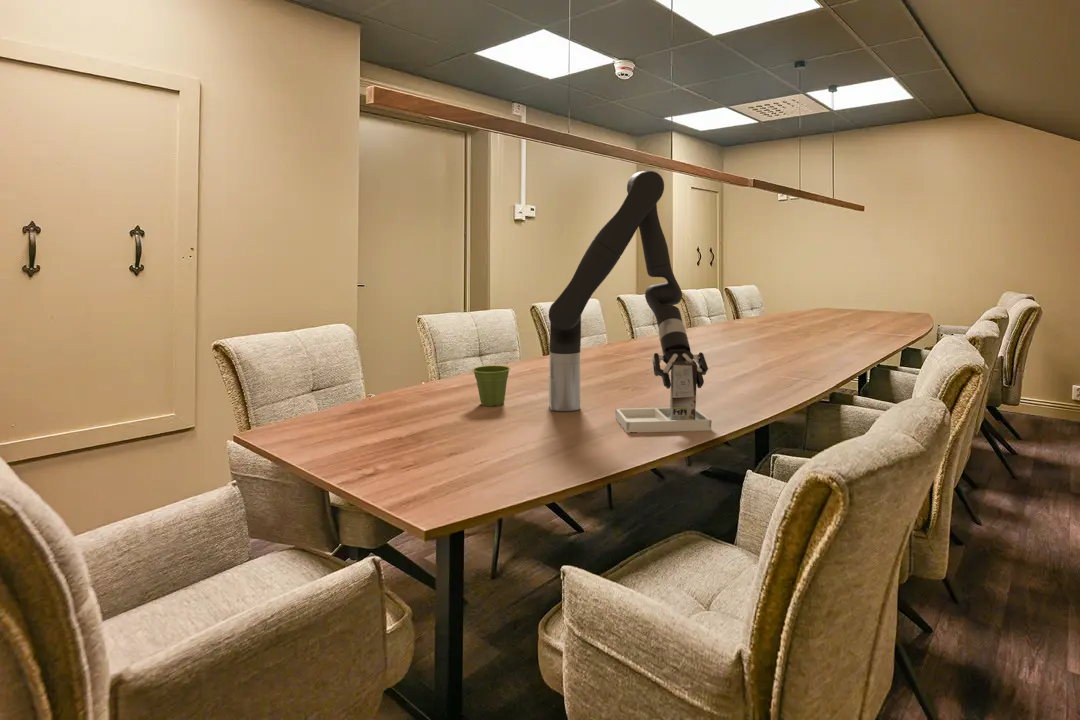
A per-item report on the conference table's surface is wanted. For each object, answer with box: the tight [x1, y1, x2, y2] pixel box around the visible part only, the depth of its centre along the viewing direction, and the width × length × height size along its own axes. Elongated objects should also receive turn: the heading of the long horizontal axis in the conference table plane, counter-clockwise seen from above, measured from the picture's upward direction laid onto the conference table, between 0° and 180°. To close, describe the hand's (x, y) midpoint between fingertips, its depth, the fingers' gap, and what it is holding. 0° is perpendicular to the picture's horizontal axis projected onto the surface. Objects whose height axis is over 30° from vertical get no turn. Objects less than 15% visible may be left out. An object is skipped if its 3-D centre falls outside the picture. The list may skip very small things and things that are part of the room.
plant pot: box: [471, 365, 511, 407], centre depth 191 cm, size 12×12×11 cm
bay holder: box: [615, 407, 713, 434], centre depth 167 cm, size 22×15×3 cm, turn 94°
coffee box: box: [669, 359, 699, 420], centre depth 166 cm, size 9×6×16 cm
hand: (684, 386), depth 163 cm, fingers open, 8 cm apart
